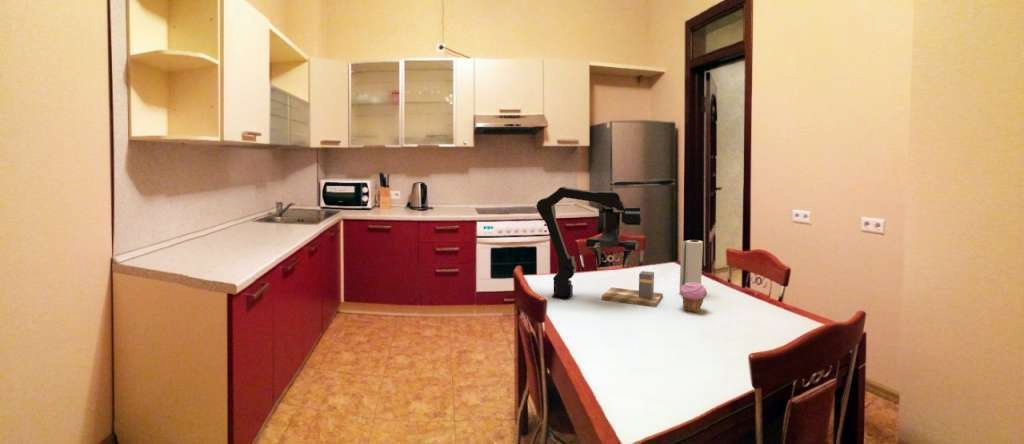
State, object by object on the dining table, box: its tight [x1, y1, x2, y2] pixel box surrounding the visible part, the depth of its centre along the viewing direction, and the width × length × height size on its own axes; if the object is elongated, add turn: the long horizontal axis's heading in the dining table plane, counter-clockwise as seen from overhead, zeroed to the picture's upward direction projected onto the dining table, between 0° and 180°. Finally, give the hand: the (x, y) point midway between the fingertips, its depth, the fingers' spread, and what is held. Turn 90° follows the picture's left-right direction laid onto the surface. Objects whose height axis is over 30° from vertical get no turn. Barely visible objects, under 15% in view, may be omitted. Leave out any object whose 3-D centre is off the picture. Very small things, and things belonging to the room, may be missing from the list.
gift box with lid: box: [638, 270, 655, 299], centre depth 171 cm, size 5×5×9 cm
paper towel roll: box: [678, 239, 704, 296], centre depth 177 cm, size 7×6×21 cm
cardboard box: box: [601, 286, 664, 308], centre depth 174 cm, size 20×13×2 cm, turn 62°
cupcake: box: [679, 282, 708, 313], centre depth 160 cm, size 9×9×10 cm
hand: (611, 266), depth 171 cm, fingers open, 9 cm apart
